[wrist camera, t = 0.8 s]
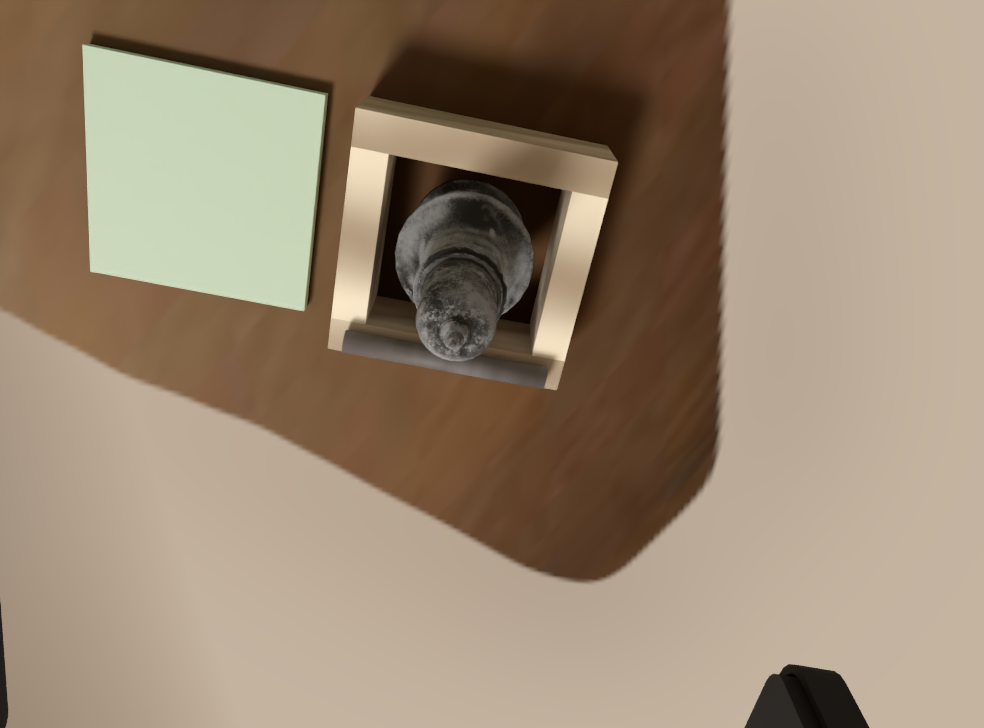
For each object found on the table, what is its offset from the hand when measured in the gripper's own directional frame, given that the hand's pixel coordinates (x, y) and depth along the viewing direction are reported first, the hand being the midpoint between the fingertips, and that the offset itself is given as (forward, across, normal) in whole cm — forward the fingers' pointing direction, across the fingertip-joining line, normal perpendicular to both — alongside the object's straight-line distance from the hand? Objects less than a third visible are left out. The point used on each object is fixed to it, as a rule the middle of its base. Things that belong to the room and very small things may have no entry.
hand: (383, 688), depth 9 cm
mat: (+28, +12, +2) cm, 30 cm away
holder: (+28, 0, +2) cm, 28 cm away
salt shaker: (+28, 0, +2) cm, 28 cm away
